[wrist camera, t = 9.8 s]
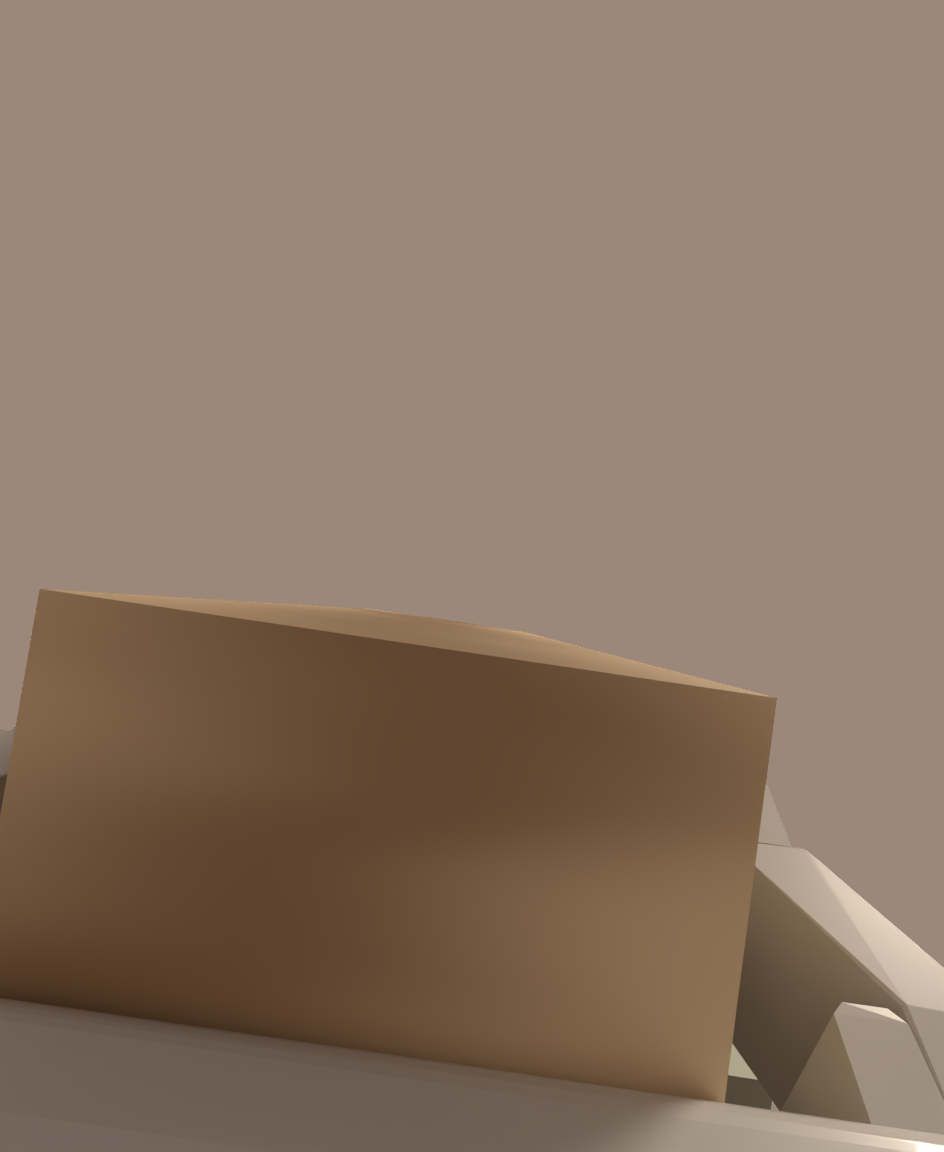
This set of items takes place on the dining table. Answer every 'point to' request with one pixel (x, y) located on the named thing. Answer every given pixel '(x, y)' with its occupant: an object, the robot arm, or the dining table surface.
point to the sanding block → (382, 837)
